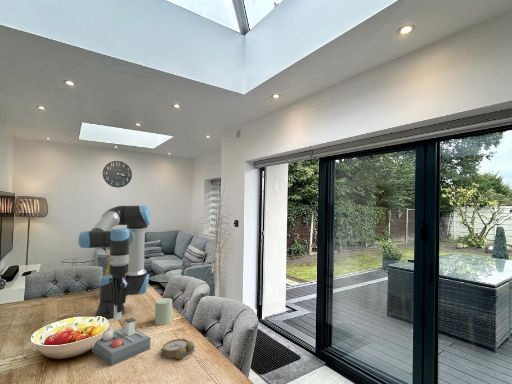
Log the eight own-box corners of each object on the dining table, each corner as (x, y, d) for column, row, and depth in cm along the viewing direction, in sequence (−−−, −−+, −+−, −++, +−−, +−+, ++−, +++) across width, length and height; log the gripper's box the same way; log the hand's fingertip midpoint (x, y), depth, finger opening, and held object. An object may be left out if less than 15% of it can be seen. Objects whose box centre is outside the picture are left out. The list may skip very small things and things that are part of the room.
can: (166, 326, 148) (167, 303, 148) (151, 324, 150) (151, 302, 150) (175, 319, 157) (175, 297, 157) (160, 317, 159) (160, 296, 159)
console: (91, 350, 122) (91, 337, 122) (128, 336, 136) (129, 324, 136) (111, 365, 111) (112, 351, 111) (150, 348, 124) (150, 336, 124)
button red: (109, 350, 117) (109, 341, 118) (118, 347, 120) (119, 337, 121) (113, 354, 115) (114, 344, 115) (123, 350, 118) (123, 340, 118)
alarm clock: (175, 337, 130) (200, 338, 123) (176, 348, 129) (201, 350, 122) (156, 347, 120) (182, 350, 113) (157, 359, 119) (183, 363, 112)
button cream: (101, 341, 122) (101, 332, 122) (110, 338, 125) (110, 329, 126) (105, 344, 120) (105, 334, 120) (114, 340, 123) (114, 331, 123)
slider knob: (124, 334, 126) (125, 319, 127) (131, 332, 129) (131, 317, 129) (128, 336, 124) (128, 321, 125) (135, 334, 127) (135, 319, 127)
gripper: (103, 263, 121) (101, 317, 120) (117, 268, 113) (116, 326, 112) (120, 260, 126) (119, 312, 126) (135, 264, 119) (133, 320, 118)
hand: (117, 319), depth 119 cm, fingers closed
